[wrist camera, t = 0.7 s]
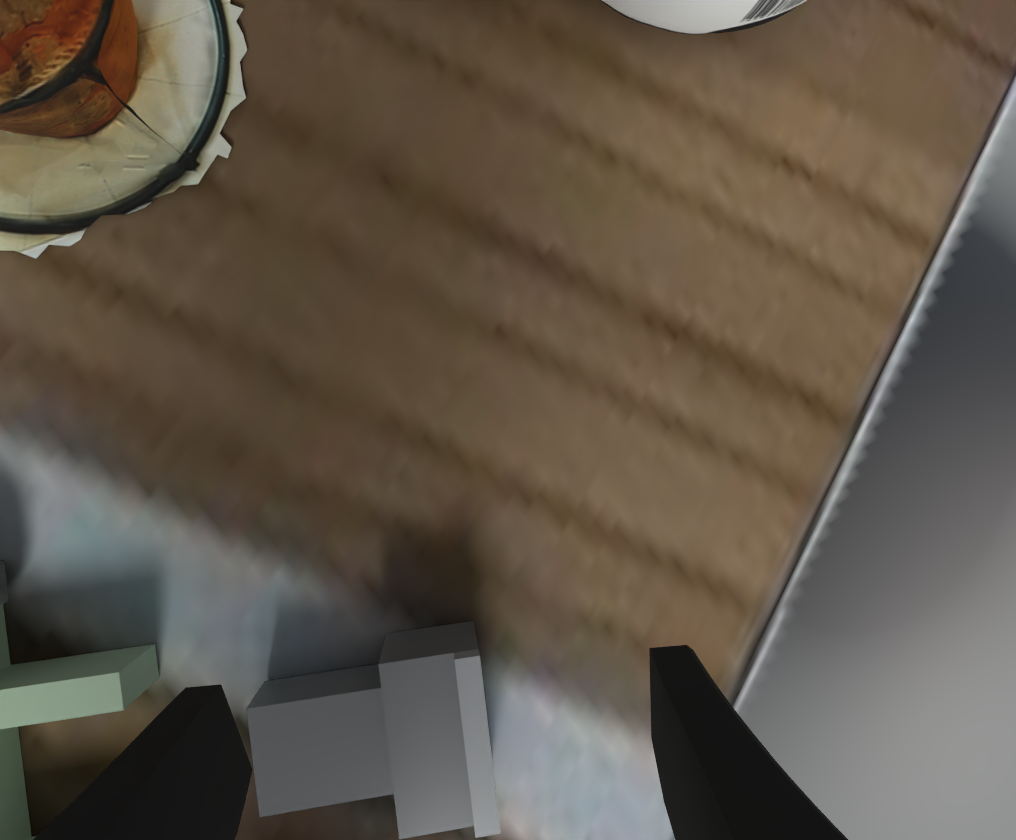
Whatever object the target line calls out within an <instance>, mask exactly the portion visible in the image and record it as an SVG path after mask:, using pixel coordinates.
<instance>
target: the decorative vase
mask: <svg viewBox="0 0 1016 840" xmlns="http://www.w3.org/2000/svg"><path fill="white" fill-rule="evenodd" d="M230 1H231V0H0V250H2V251H17V252H20V253H22V254H25V255H28V256H30V257H33V258H37V257H38V256H39V255H40V254H41V253H42V252H43V251H44V249H45V248H46V247H47V246H48V245H60V246H71V245H72V244H74V243H76V242H77V241H79V240H80V239H81V238H82V236H83V234H84V232H85V230H86V229H87V228H88V227H89V226H90V225H91V224H92V223H93V222H94V221H96V220H97V219H98V218H99V217H100V216H101V215H117V214H129V213H132V212H135V211H137V210H140V209H143V208H145V207H146V206H148V205H149V204H150V203H152V202H153V201H154V200H155V199H157V198H158V197H160V196H163V195H166V194H169V193H172V192H174V191H175V190H176V189H177V188H178V187H180V186H181V185H196V184H199V182H200V180H201V179H202V177H203V176H204V174H205V172H206V171H207V169H208V168H209V166H210V165H211V163H212V162H213V161H214V159H215V158H216V156H217V155H220V156H222V157H225V158H228V156H229V153H230V151H231V148H232V147H231V146H230V145H229V144H228V143H227V141H226V140H225V139H224V138H223V137H222V136H221V135H220V132H221V130H222V128H223V126H224V124H225V122H226V120H227V118H228V116H229V114H230V112H231V110H232V109H234V108H235V107H236V106H237V105H238V104H240V103H241V102H242V101H243V100H244V99H246V96H245V92H244V89H243V83H242V74H241V66H240V61H241V59H242V58H243V56H244V55H245V53H246V52H247V47H246V43H245V40H244V36H243V33H242V31H241V29H240V28H239V26H238V24H237V22H236V21H237V19H238V18H239V16H240V14H241V12H242V11H243V9H242V8H240V7H237V6H235V5H232V4H230Z"/></svg>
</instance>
